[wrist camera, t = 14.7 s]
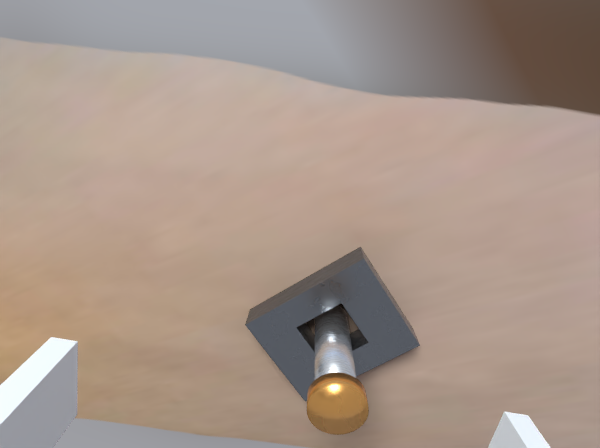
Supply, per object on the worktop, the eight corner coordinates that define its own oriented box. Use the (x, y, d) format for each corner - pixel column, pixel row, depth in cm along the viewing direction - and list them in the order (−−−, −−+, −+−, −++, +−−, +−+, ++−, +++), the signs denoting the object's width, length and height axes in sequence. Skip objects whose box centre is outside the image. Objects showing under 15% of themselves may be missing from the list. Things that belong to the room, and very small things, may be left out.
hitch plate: (250, 309, 42) (245, 324, 40) (360, 246, 39) (364, 258, 37) (305, 382, 45) (305, 401, 42) (412, 328, 42) (419, 345, 39)
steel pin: (301, 312, 42) (295, 402, 30) (338, 292, 41) (348, 376, 29) (324, 344, 43) (327, 443, 31) (361, 324, 42) (379, 419, 30)
